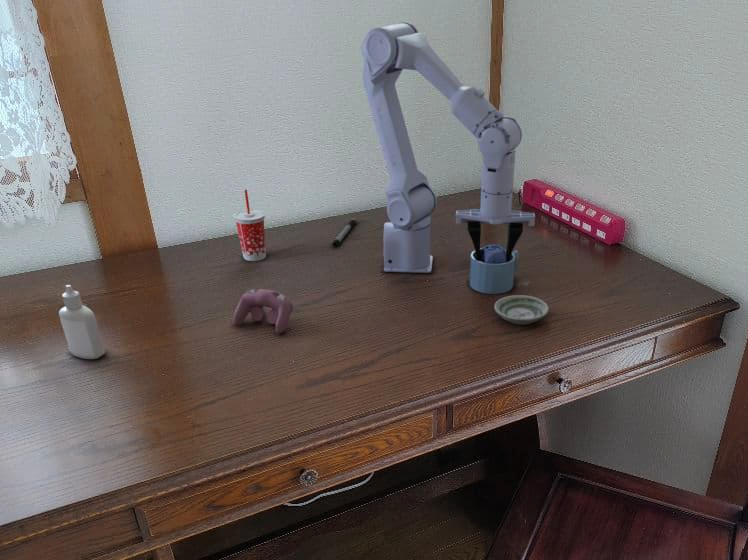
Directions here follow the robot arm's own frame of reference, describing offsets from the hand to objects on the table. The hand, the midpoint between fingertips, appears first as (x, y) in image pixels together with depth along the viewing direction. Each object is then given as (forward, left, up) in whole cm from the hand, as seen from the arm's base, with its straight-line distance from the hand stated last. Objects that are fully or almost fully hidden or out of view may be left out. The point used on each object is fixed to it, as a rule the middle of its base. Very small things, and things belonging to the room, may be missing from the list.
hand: (492, 260), depth 140 cm
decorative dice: (0, 0, -2) cm, 2 cm away
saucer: (+5, -14, -5) cm, 16 cm away
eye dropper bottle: (-66, -31, -5) cm, 73 cm away
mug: (+1, +1, -5) cm, 5 cm away
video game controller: (-40, -19, -5) cm, 45 cm away
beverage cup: (-49, +10, -5) cm, 50 cm away
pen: (-32, +24, -5) cm, 40 cm away
